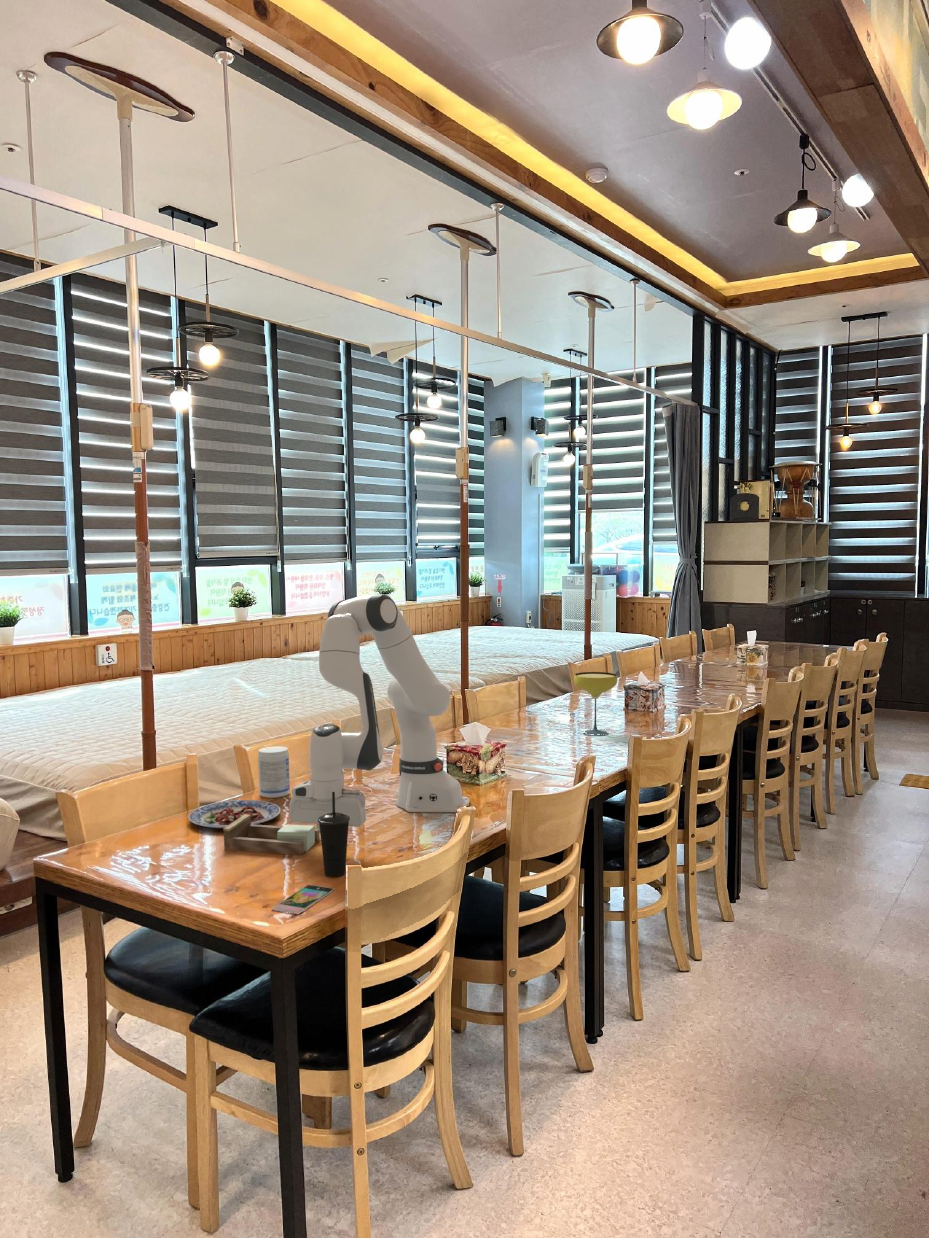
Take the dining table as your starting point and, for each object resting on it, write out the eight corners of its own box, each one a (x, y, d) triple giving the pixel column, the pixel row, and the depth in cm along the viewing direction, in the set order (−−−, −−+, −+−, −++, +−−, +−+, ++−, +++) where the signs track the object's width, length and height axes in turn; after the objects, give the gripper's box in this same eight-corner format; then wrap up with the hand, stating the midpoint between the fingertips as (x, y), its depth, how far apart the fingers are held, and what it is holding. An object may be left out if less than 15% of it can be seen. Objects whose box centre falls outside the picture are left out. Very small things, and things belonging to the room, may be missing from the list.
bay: (319, 839, 232) (319, 819, 231) (301, 855, 220) (300, 833, 219) (245, 834, 236) (245, 814, 236) (224, 849, 224) (223, 828, 224)
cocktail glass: (593, 727, 378) (594, 670, 376) (625, 733, 364) (626, 675, 362) (564, 732, 367) (565, 674, 365) (597, 739, 353) (597, 679, 351)
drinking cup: (320, 868, 211) (318, 788, 209) (351, 867, 211) (350, 787, 210) (317, 880, 203) (315, 797, 201) (350, 879, 204) (348, 796, 202)
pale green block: (315, 843, 229) (314, 825, 229) (306, 852, 223) (306, 833, 222) (286, 842, 230) (285, 823, 230) (277, 850, 224) (276, 831, 223)
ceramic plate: (282, 804, 265) (282, 795, 265) (278, 831, 239) (278, 820, 239) (195, 809, 261) (195, 799, 260) (182, 836, 235) (181, 826, 235)
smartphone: (335, 888, 197) (299, 913, 184) (335, 891, 197) (299, 917, 184) (308, 884, 200) (270, 908, 186) (308, 887, 200) (270, 911, 186)
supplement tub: (294, 795, 274) (293, 750, 273) (265, 800, 269) (264, 754, 267) (282, 788, 282) (281, 744, 281) (254, 793, 277) (253, 748, 276)
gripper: (369, 787, 224) (369, 839, 225) (295, 782, 229) (296, 833, 230) (360, 793, 218) (361, 847, 219) (285, 789, 222) (286, 841, 224)
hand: (327, 840), depth 224 cm, fingers closed
